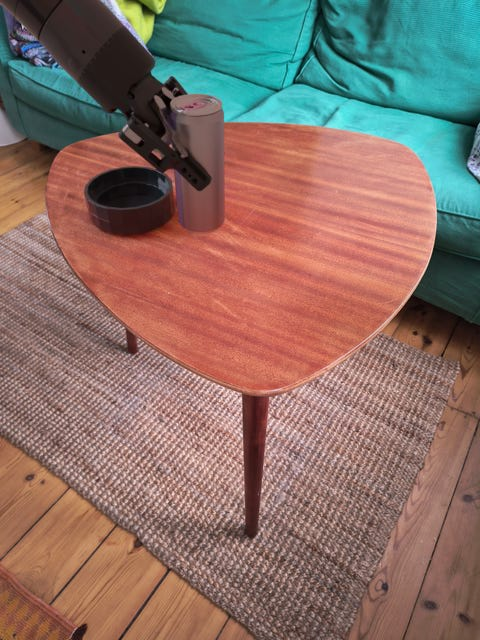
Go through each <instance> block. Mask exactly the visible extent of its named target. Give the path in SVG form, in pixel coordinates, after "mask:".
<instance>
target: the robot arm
mask: <svg viewBox="0 0 480 640" xmlns="http://www.w3.org/2000/svg"><path fill="white" fill-rule="evenodd" d="M0 6H1V7H3V8H4V9H5V10H7V12H8V13H10V14H11V15H12V16H13V17H14V18H15V20H17V21H18V23H20V24H21V25H22V27H24V28H25V29H26V31H28V33H30V34H31V35H32V36H33V37H34V38H35V40H37V41H38V42H39V43H40V44H41V45H42V47H43V48H44V49H45V50H46V51H47V53H48V54H49V55H50V57H52V59H53V60H54V61H55V62H56V63H57V64H58V65H59V67H60V68H61V69H63V71H64V72H65V73H66V74H68V76H70V77H71V78H72V79H73V80H74V82H76V83H77V84H78V85H79V86H80V87H81V88H82V89H83V91H85V92H86V93H87V94H88V95H89V96H90V97H91V98H92V99H93V100H94V101H95V102H96V103H97V104H98V105H99V106H100V107H101V108H102V109H103V110H104V111H105V112H106V113H108V114H114V113H115V112H117V111H120V113H121V114H122V115H123V117H124V119H125V121H126V124H125V125H124V126H123V127H122V128H121V129H120V131H119V132H118V133H117V136H118V138H119V139H120V140H121V141H122V142H123V143H124V144H125V145H127V146H128V147H129V148H130V149H132V151H133V152H135V153H137V155H139V156H140V157H141V158H143V160H145V161H146V162H147V163H148V164H150V165H151V166H152V168H153V169H157V170H158V171H159V172H161V173H166V172H167V171H168V170H171V171H174V169H175V170H176V171H178V172H179V173H180V174H181V175H182V176H183V177H184V178H185V179H186V180H187V181H188V182H189V183H190V184H191V185H192V186H193V187H194V188H195V189H196V190H197V191H202V190H203V189H204V188H206V187H207V186H208V185H209V184H210V183H211V181H212V177H211V176H210V175H209V174H208V172H207V171H206V170H205V169H204V168H203V167H202V166H201V165H200V164H199V163H198V162H197V161H196V160H195V159H194V158H193V157H192V156H191V155H190V154H189V155H188V153H187V151H186V149H185V148H184V146H183V145H182V143H181V142H180V141H179V139H178V133H177V131H176V129H175V127H174V125H173V124H172V121H171V119H170V116H169V112H170V102H171V101H172V100H173V99H174V98H176V97H179V96H182V95H187V94H189V93H188V92H187V91H186V89H184V87H183V86H182V84H181V83H180V82H179V81H178V79H177V78H176V77H174V76H173V75H170V76H169V77H168V78H167V80H165V81H164V83H163V82H162V81H160V80H159V79H157V77H155V76H154V75H153V74H152V71H153V70H154V68H155V67H156V59H155V58H154V56H153V55H152V54H151V53H150V52H149V51H148V50H147V48H145V46H144V45H143V44H142V42H140V41H139V40H138V38H137V37H135V35H134V34H133V33H132V32H131V31H130V30H129V28H128V27H126V26H125V24H124V23H123V22H122V21H121V20H120V19H119V18H118V17H117V15H115V14H114V12H113V11H112V10H111V9H110V7H108V6H107V4H105V2H103V1H102V0H0ZM172 146H173V148H174V150H175V151H174V150H173V149H172ZM154 153H156V154H157V153H158V154H159V156H160V157H161V158H159V157H158V156H157V155H155V154H154ZM224 156H226V152H225V150H224Z"/></svg>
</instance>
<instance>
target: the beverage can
mask: <svg viewBox="0 0 480 640" xmlns="http://www.w3.org/2000/svg"><path fill="white" fill-rule="evenodd" d="M169 116H170V119H171V121H172V124H173V125H174V127H175V129H176V131H177V133H178V139H179V141H180V142H181V143H182V145H183V146H184V148H185V149H186V151H187V153H188V155H189V154H190V155H191V156H192V157H193V158H194V159H195V160H196V161H197V162H198V163H199V164H200V165H201V166H202V167H203V168H204V169H205V170H206V171H207V172H208V174H209V175H210V176H211V177H212V181H211V183H210V184H209V185H208V186H207V187H206V188H204V189H203V190H202V191H197V190H196V189H195V188H194V187H193V186H192V185H191V184H190V183H189V182H188V181H187V180H186V179H185V178H184V177H183V176H182V175H181V174H180V173H179V172H178V171H176V170H175V169H174V170H173V175H174V176H173V177H174V186H175V197H176V198H175V199H176V207H177V208H176V209H177V220H178V223H179V225H180V226H181V227H182V228H183V230H184V231H186V232H187V233H190V234H194V235H209V234H212V233H215V232H217V231H218V230H219V229H220V228H221V227H223V225H224V223H225V220H226V188H225V186H226V181H225V179H226V178H225V175H226V174H225V171H226V170H225V162H226V161H225V155H224V151H225V112H224V108H223V101H222V99H220V98H218V97H216V96H214V95H211V94H204V93H188V94H187V95H182V96H179V97H176V98H174V99H173V100H172V101H171V102H170V112H169ZM171 148H172V149H173V150H174V148H173V146H172V145H171ZM174 151H175V150H174Z"/></svg>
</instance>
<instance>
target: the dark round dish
mask: <svg viewBox="0 0 480 640" xmlns="http://www.w3.org/2000/svg"><path fill="white" fill-rule="evenodd" d="M83 196H84V200H85V203H86V207H87V212H88V216H89V219H90V221H91V222H92V225H93V226H95V228H97V229H98V230H100V231H102V232H104V233H108V234H111V235H118V236H135V235H137V236H138V235H143V234H147V233H151V232H154V231H156V230H158V229H160V228H162V227H164V226H166V225H167V224H168V223H169V222H170V221H172V219H173V217H174V215H175V213H176V203H175V196H174V185H173V180H172V179H171V177H170V176H169V175H168V174H167V173H166V172H164V173H161V172H159V171H158V170H157V169H156V168H154V167H149V166H139V165H131V166H128V165H127V166H120V167H116V168H111V169H108V170H106V171H103V172H100V173H98V174H96V175H95V176H93V177H92V178H90V179H88V182H87V183H86V184H85V186H84V190H83Z"/></svg>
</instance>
